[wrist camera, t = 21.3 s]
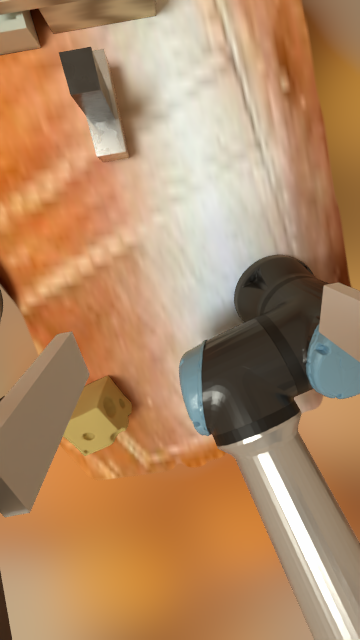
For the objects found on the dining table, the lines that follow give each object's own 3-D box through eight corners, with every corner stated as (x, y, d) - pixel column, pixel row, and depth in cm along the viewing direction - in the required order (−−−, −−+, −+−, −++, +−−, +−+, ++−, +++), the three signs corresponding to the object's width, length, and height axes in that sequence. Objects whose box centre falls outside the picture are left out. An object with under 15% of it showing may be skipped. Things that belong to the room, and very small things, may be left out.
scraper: (110, 68, 31) (83, -12, 20) (129, 157, 35) (115, 132, 24) (80, 73, 31) (37, -3, 20) (103, 162, 35) (78, 139, 24)
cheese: (133, 402, 55) (128, 440, 46) (94, 420, 56) (82, 459, 47) (108, 372, 51) (97, 406, 42) (67, 391, 52) (48, 428, 43)
